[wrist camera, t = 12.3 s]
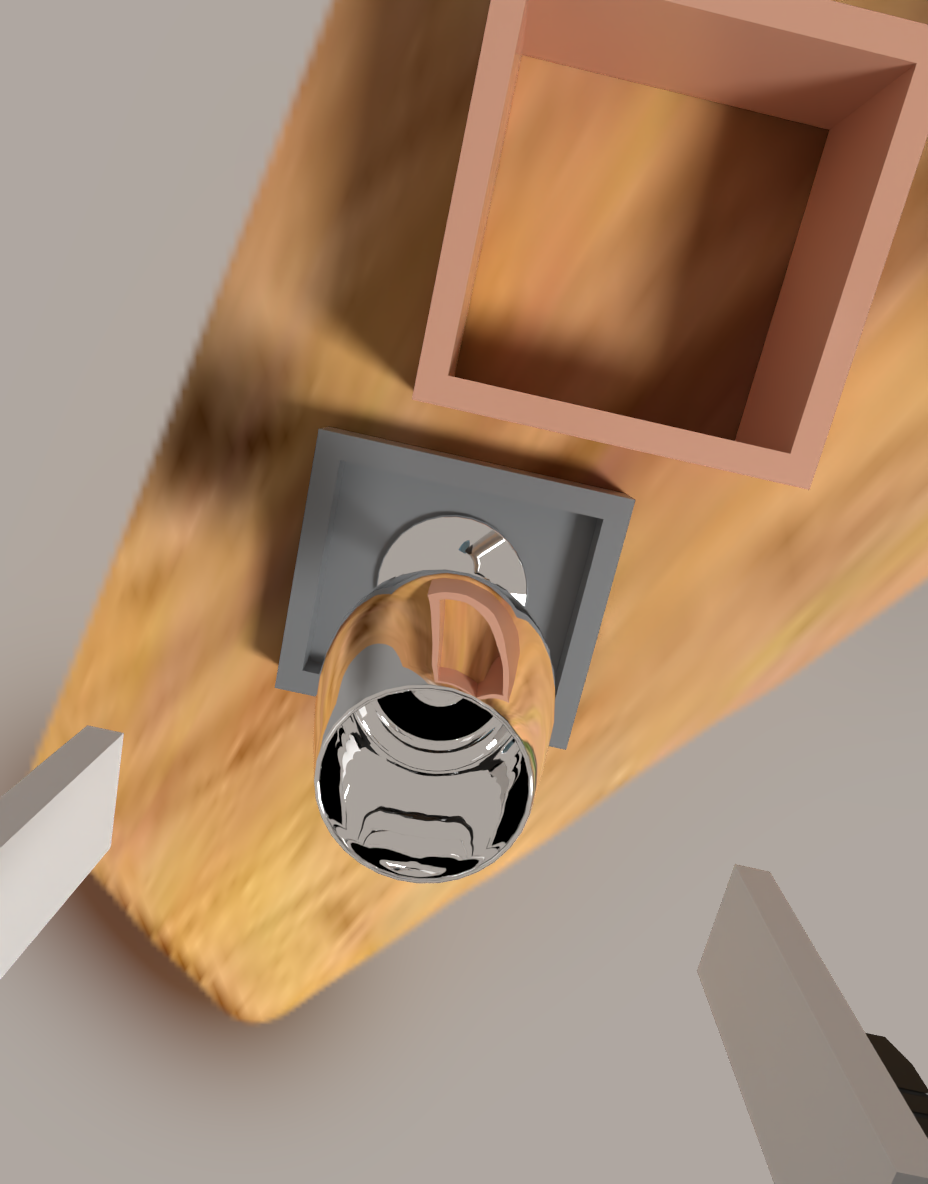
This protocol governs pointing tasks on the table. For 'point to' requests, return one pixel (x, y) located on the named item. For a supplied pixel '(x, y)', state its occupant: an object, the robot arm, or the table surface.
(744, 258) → the table surface
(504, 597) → the wineglass
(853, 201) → the holder
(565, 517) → the tray
